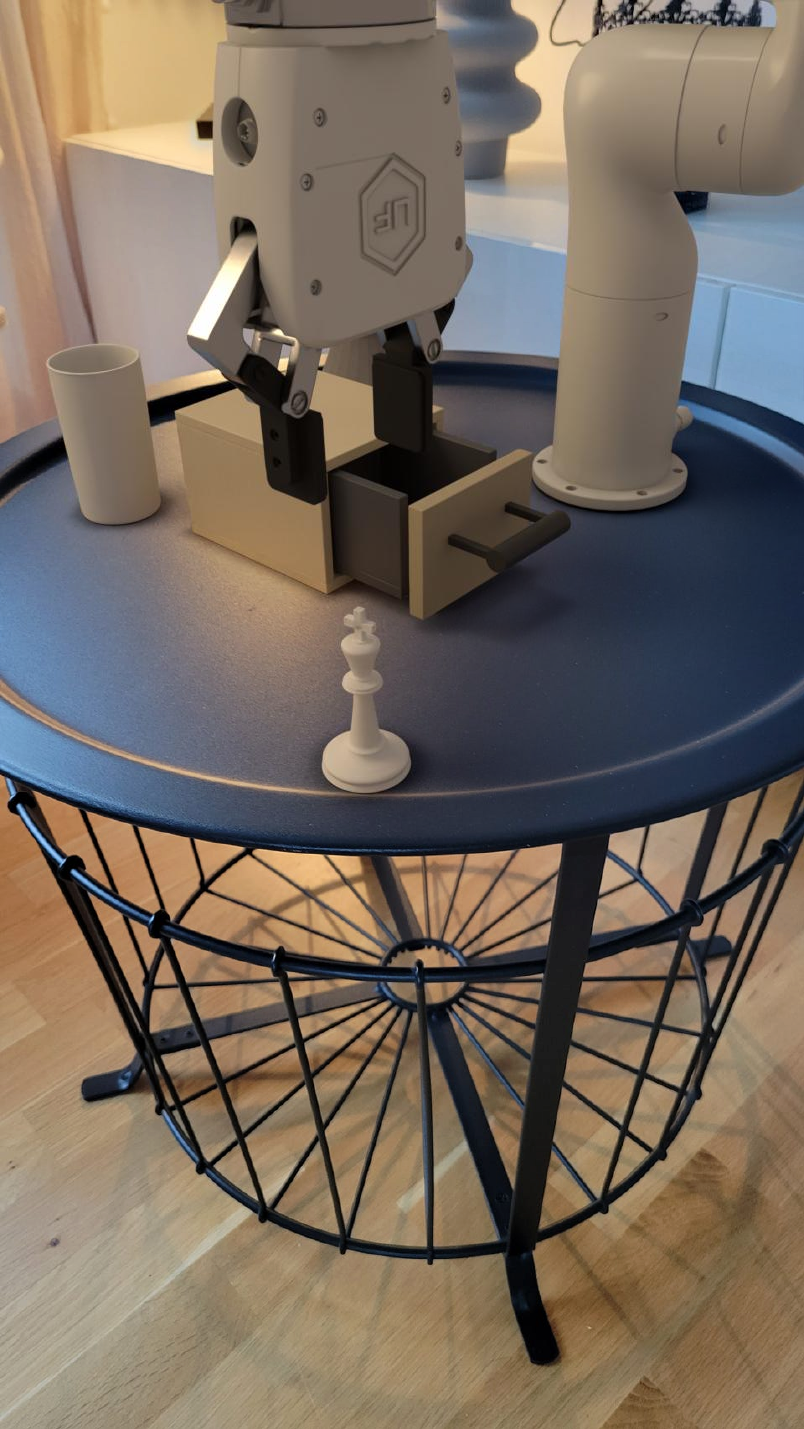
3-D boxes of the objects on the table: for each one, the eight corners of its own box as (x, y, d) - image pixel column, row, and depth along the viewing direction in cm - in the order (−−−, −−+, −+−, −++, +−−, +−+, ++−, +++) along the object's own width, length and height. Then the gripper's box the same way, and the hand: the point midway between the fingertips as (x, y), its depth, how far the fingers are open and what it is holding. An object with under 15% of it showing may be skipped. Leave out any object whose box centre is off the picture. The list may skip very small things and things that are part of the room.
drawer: (583, 577, 73) (594, 471, 68) (481, 647, 66) (485, 534, 61) (387, 502, 82) (384, 405, 78) (280, 556, 76) (271, 453, 71)
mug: (153, 527, 82) (127, 373, 74) (68, 527, 82) (33, 374, 75) (180, 473, 90) (158, 329, 82) (102, 473, 90) (73, 330, 83)
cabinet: (443, 530, 81) (444, 408, 75) (327, 594, 73) (318, 464, 67) (309, 478, 88) (301, 364, 83) (192, 532, 81) (174, 410, 75)
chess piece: (379, 805, 56) (373, 646, 50) (304, 774, 58) (289, 618, 52) (427, 754, 59) (427, 600, 53) (354, 727, 61) (346, 575, 55)
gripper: (209, 7, 30) (268, 566, 41) (559, -21, 40) (532, 432, 51) (58, 1, 34) (148, 511, 45) (411, -23, 44) (415, 397, 55)
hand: (352, 465), depth 48 cm, fingers open, 6 cm apart
